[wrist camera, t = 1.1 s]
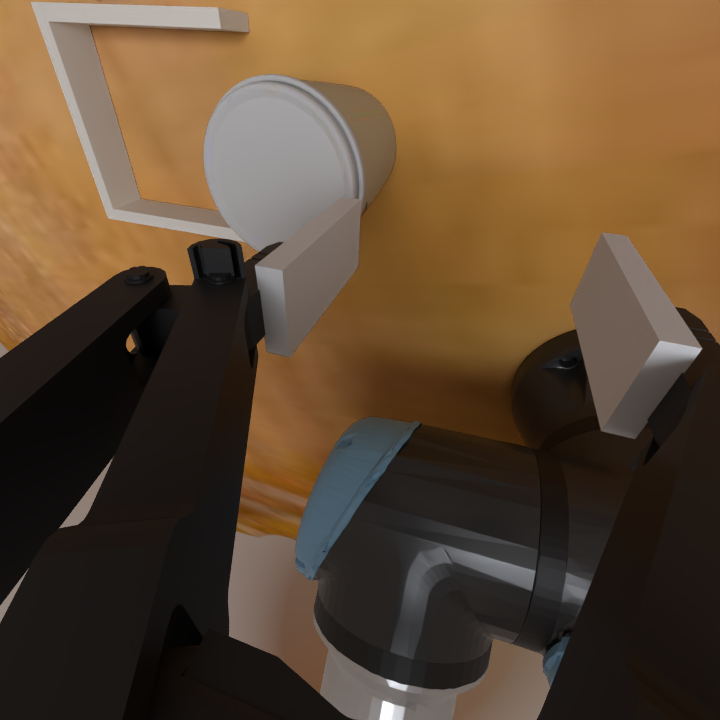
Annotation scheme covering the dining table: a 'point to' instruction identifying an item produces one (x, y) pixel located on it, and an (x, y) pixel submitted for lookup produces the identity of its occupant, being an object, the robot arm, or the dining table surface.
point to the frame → (95, 109)
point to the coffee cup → (293, 153)
